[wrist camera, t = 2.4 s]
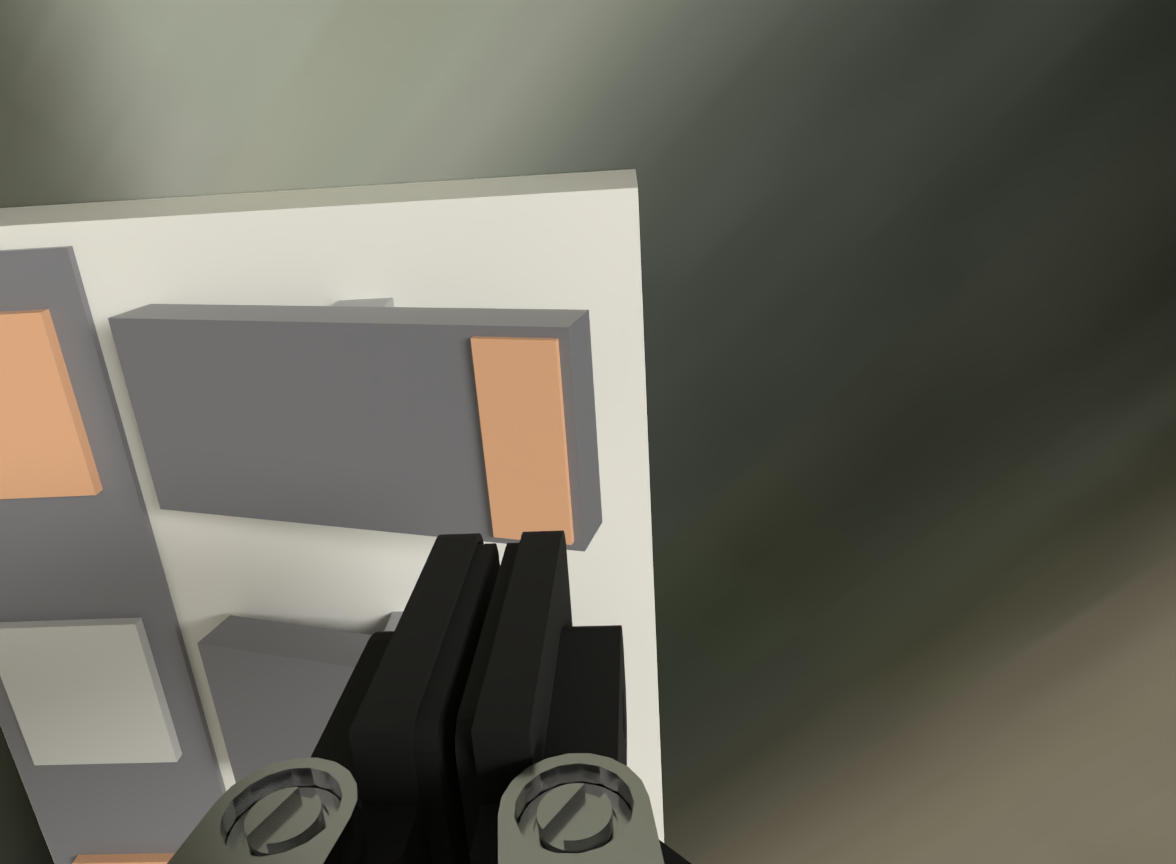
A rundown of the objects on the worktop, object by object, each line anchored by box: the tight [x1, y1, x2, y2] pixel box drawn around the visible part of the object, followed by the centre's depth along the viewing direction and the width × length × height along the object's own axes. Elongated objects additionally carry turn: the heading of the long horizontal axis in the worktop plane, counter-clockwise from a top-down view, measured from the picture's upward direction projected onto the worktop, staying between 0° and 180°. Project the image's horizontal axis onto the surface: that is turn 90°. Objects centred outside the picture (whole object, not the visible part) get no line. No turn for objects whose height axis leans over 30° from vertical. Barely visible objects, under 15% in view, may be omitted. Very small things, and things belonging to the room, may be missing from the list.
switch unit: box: [0, 169, 664, 864], centre depth 24 cm, size 24×18×5 cm
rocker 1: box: [108, 304, 602, 552], centre depth 18 cm, size 4×10×1 cm, turn 94°
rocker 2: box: [197, 615, 372, 783], centre depth 21 cm, size 4×10×1 cm, turn 94°
